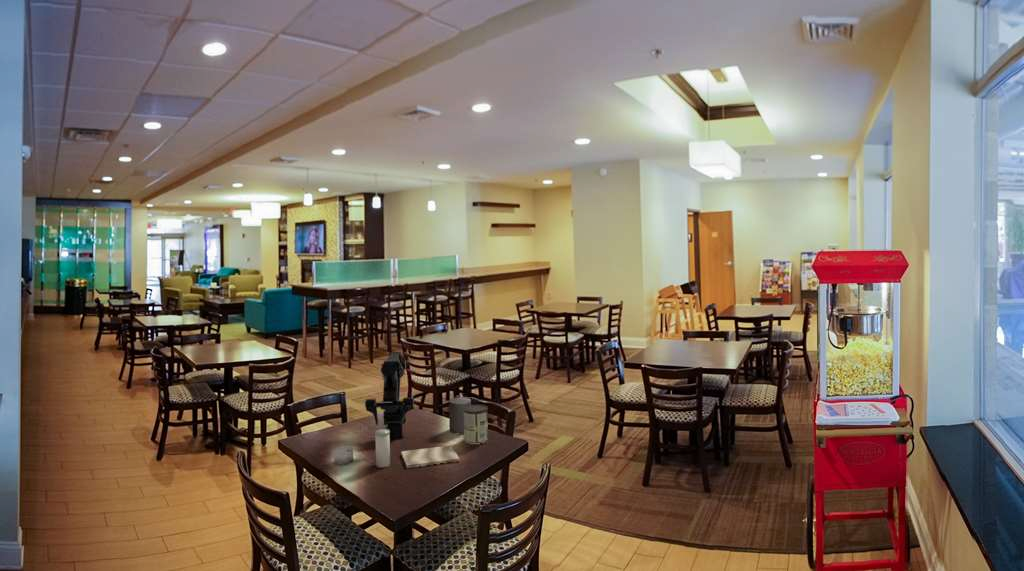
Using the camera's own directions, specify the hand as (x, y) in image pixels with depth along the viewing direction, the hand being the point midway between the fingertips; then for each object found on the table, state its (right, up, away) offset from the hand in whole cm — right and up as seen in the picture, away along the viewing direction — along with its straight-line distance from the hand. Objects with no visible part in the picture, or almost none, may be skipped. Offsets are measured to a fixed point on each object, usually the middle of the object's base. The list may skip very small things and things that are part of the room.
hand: (388, 424), depth 224 cm
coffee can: (+33, -12, +19) cm, 40 cm away
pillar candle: (+25, -11, +32) cm, 42 cm away
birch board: (+16, -13, -1) cm, 21 cm away
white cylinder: (-1, -14, -7) cm, 15 cm away
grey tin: (-16, -14, -4) cm, 22 cm away
